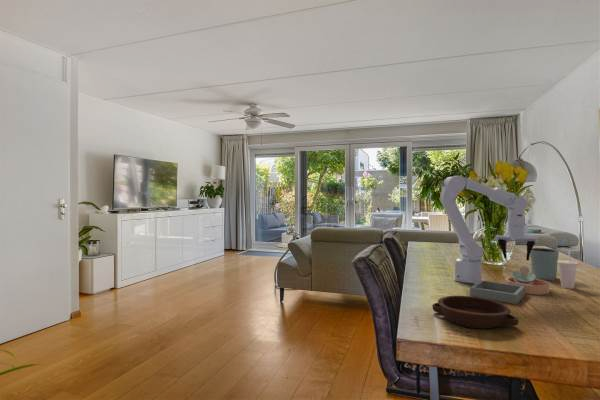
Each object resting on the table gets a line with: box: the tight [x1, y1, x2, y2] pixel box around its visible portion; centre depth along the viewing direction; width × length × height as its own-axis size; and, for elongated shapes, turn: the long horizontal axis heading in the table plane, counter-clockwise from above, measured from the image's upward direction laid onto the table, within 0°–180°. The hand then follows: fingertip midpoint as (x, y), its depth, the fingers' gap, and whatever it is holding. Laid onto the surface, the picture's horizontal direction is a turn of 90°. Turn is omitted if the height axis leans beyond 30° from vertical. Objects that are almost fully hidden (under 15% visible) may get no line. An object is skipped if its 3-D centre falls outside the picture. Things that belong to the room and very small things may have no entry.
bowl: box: [504, 276, 551, 295], centre depth 128 cm, size 14×14×3 cm
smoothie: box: [557, 250, 579, 290], centre depth 130 cm, size 6×6×14 cm
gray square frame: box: [469, 279, 526, 305], centre depth 121 cm, size 14×14×3 cm
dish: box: [431, 295, 520, 330], centre depth 97 cm, size 18×22×5 cm
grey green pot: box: [529, 247, 560, 281], centre depth 146 cm, size 10×10×12 cm
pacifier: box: [512, 265, 536, 285], centre depth 131 cm, size 7×6×6 cm
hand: (516, 259), depth 138 cm, fingers open, 7 cm apart
